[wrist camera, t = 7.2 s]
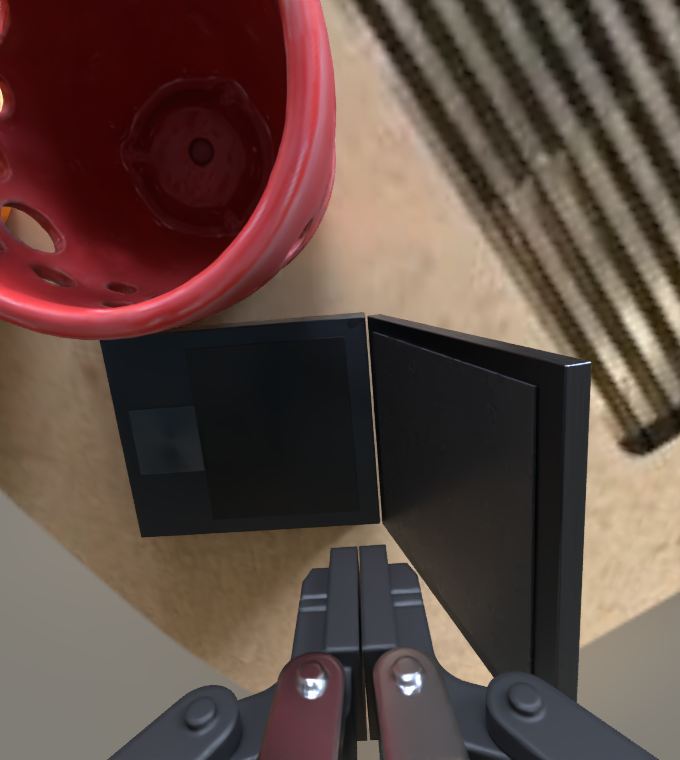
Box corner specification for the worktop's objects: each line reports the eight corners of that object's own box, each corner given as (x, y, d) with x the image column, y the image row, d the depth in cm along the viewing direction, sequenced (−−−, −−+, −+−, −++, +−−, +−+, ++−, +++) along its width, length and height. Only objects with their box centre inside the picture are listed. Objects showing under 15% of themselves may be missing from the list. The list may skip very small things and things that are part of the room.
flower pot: (225, -63, 20) (49, -497, 9) (397, 199, 23) (441, 134, 11) (14, 134, 22) (-350, -1, 11) (191, 354, 25) (47, 437, 13)
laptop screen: (551, 763, 13) (575, 753, 13) (561, 366, 10) (592, 361, 10) (380, 523, 25) (394, 520, 25) (365, 316, 22) (380, 314, 22)
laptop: (154, 520, 27) (140, 539, 26) (116, 332, 25) (97, 338, 23) (378, 506, 27) (380, 525, 25) (364, 312, 24) (365, 316, 22)
